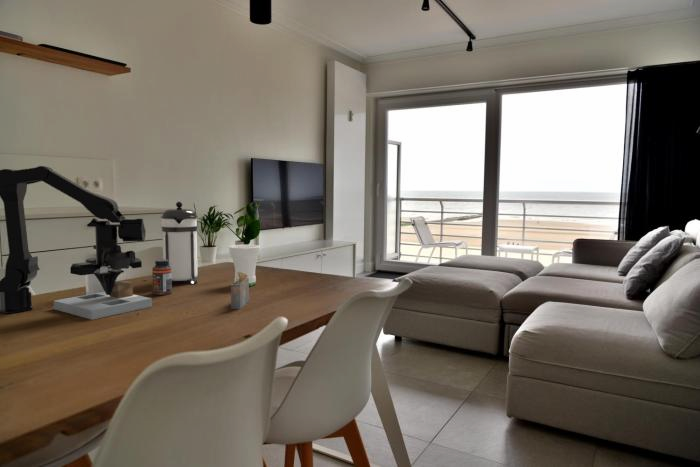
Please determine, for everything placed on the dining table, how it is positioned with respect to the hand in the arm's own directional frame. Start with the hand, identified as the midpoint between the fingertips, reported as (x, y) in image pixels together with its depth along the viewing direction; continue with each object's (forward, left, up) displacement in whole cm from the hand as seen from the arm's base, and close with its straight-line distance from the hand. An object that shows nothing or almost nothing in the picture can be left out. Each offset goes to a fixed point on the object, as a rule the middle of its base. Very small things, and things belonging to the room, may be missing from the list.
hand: (108, 294), depth 145 cm
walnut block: (+4, 0, -1) cm, 4 cm away
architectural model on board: (+25, -29, -4) cm, 38 cm away
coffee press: (+37, +16, -4) cm, 41 cm away
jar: (+7, +17, -4) cm, 19 cm away
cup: (+47, -8, -4) cm, 48 cm away
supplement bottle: (+20, +3, -4) cm, 21 cm away
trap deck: (-2, 0, -4) cm, 4 cm away
